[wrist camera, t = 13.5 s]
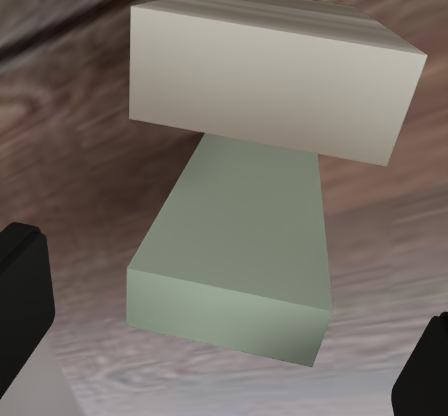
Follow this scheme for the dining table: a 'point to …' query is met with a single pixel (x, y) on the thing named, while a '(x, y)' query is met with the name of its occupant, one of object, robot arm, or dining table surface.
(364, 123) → the domino
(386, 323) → the dining table surface
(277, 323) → the domino
